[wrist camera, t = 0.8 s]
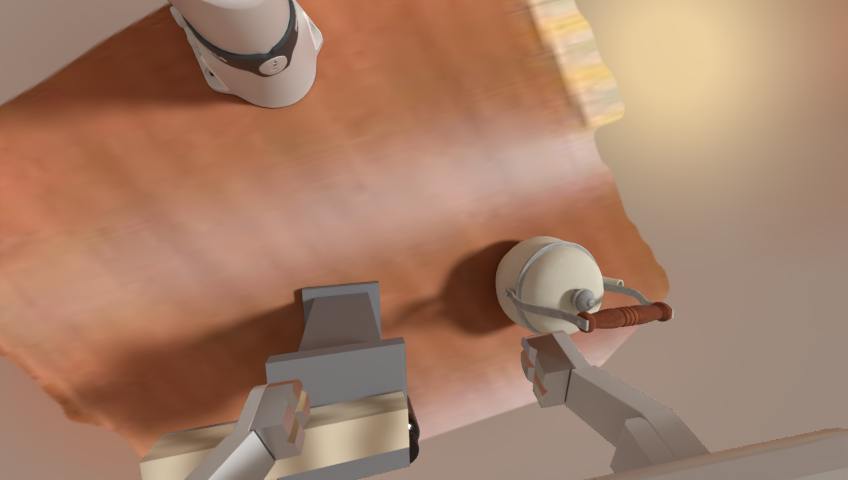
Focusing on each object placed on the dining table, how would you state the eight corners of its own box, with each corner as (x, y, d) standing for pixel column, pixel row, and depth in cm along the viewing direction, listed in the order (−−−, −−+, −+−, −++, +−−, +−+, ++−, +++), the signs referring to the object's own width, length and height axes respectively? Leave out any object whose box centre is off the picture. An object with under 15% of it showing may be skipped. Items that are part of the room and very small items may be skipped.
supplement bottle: (368, 407, 58) (373, 457, 46) (393, 381, 59) (405, 424, 47) (392, 427, 60) (403, 480, 48) (416, 401, 60) (433, 447, 49)
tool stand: (309, 363, 54) (278, 499, 29) (303, 287, 52) (265, 363, 27) (381, 352, 57) (409, 466, 32) (377, 280, 56) (405, 343, 31)
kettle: (477, 324, 62) (560, 399, 38) (477, 235, 60) (566, 256, 36) (578, 311, 68) (704, 368, 44) (582, 231, 66) (717, 246, 42)
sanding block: (168, 475, 26) (147, 509, 23) (162, 434, 26) (139, 462, 23) (403, 424, 32) (409, 446, 29) (402, 389, 31) (407, 408, 28)
